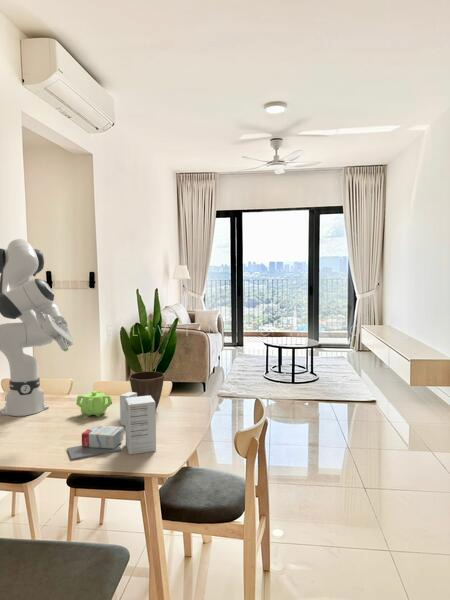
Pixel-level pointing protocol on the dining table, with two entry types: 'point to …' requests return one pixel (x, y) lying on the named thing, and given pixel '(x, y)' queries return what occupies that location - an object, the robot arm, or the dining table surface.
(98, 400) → the teapot
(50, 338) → the robot arm
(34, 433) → the dining table surface
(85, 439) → the ink box
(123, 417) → the skincare box
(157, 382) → the plant pot
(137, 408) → the supplement box
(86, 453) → the slate tile
